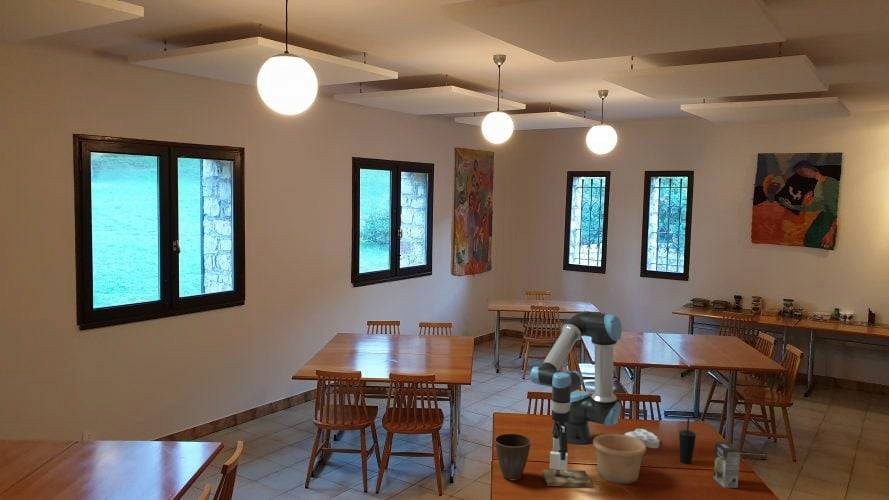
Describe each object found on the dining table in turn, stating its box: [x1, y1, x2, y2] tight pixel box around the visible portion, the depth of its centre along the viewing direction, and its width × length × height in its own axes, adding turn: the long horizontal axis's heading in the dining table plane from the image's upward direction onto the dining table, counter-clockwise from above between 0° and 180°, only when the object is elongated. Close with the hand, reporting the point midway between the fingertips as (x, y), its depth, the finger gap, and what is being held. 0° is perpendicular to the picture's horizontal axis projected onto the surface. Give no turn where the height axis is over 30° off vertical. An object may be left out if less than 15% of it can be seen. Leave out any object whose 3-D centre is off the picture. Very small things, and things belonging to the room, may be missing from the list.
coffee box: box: [713, 441, 741, 489], centre depth 272 cm, size 9×6×16 cm
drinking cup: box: [678, 418, 697, 465], centre depth 293 cm, size 8×8×20 cm
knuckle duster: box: [624, 428, 661, 449], centre depth 318 cm, size 3×18×15 cm
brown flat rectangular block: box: [542, 469, 592, 489], centre depth 271 cm, size 18×12×2 cm, turn 91°
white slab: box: [549, 450, 575, 477], centre depth 270 cm, size 2×11×9 cm, turn 74°
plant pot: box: [494, 433, 532, 481], centre depth 273 cm, size 15×15×16 cm
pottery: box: [592, 433, 647, 485], centre depth 277 cm, size 22×22×14 cm
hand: (559, 459), depth 271 cm, fingers open, 13 cm apart
